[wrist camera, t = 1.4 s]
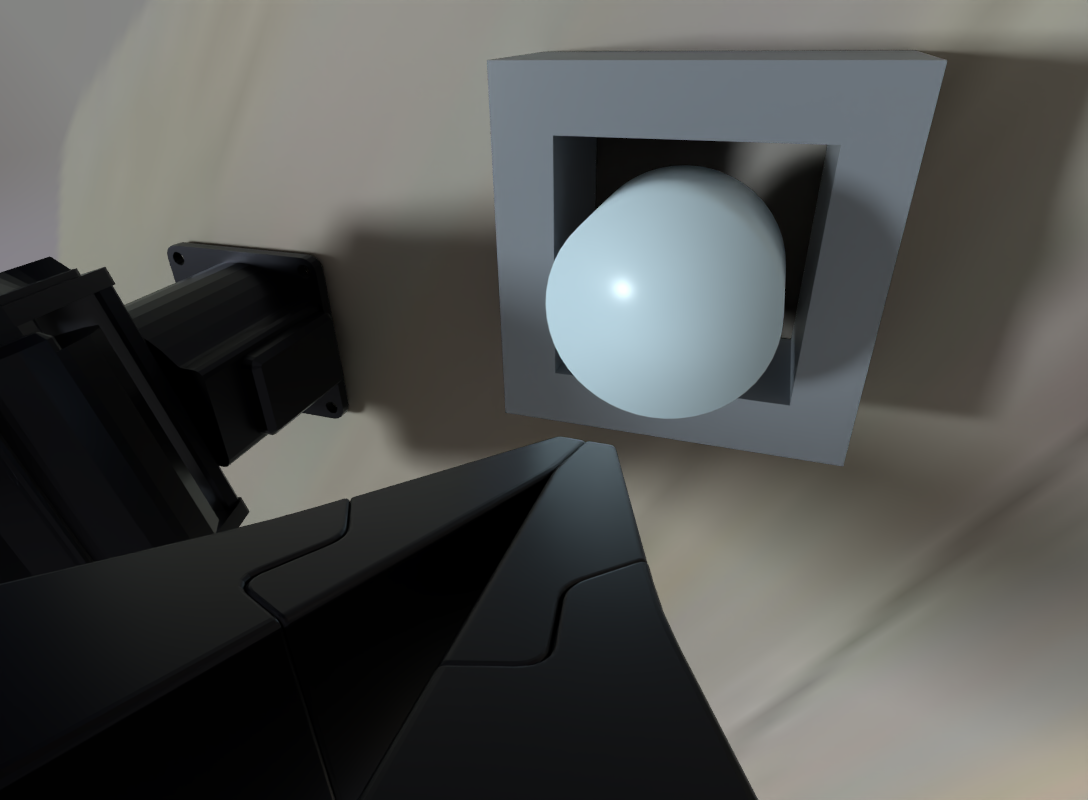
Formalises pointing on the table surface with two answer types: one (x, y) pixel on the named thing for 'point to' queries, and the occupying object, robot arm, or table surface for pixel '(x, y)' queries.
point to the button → (670, 293)
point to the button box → (714, 115)
